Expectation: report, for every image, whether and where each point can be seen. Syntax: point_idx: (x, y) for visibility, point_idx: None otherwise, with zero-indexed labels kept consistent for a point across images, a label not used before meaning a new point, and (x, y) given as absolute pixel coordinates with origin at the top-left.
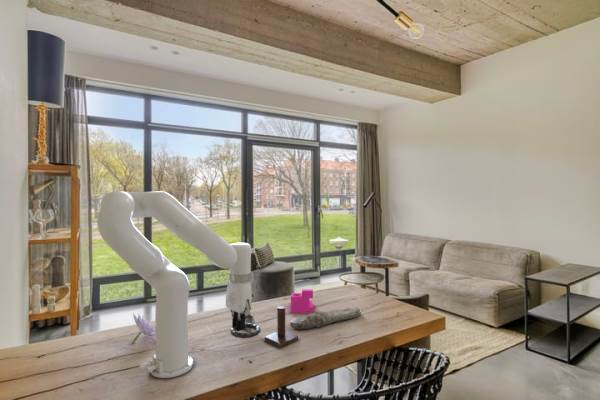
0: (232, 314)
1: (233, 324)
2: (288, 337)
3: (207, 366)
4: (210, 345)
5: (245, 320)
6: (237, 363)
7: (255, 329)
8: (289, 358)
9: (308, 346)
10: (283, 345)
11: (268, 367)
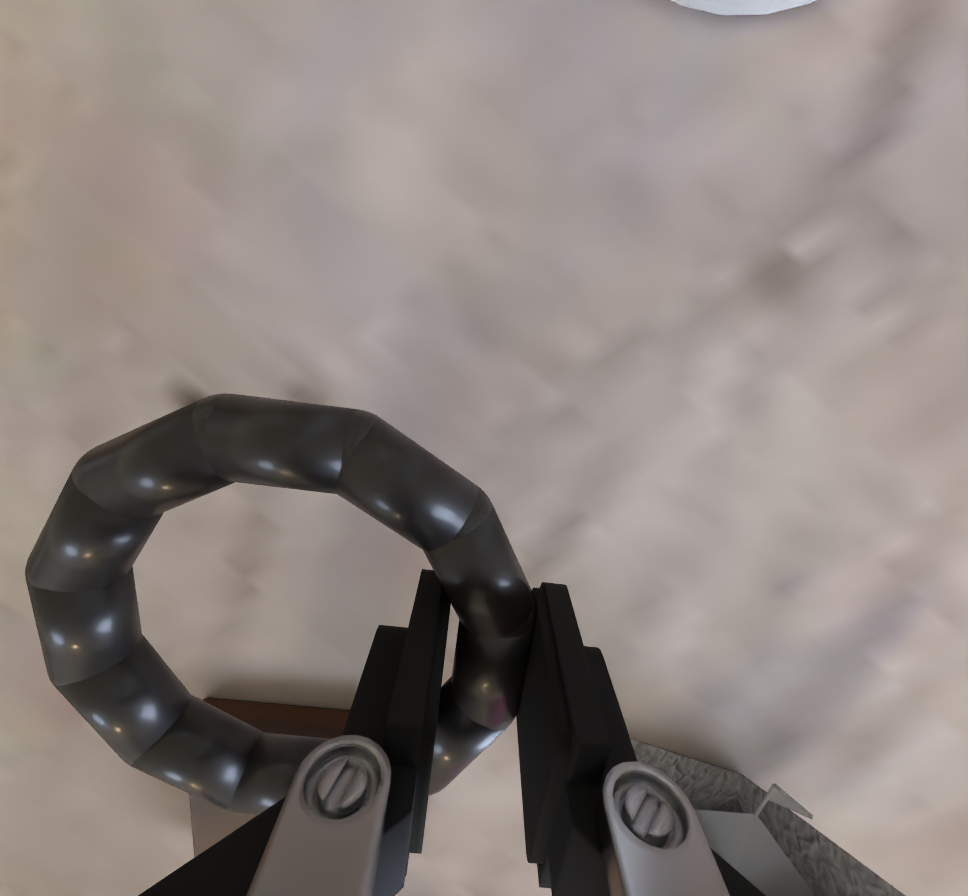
0: (680, 849)
1: (551, 636)
2: (234, 830)
3: (445, 59)
4: (767, 387)
5: (744, 851)
6: (260, 308)
7: (225, 732)
8: (20, 626)
9: (82, 815)
10: None
11: (4, 430)
